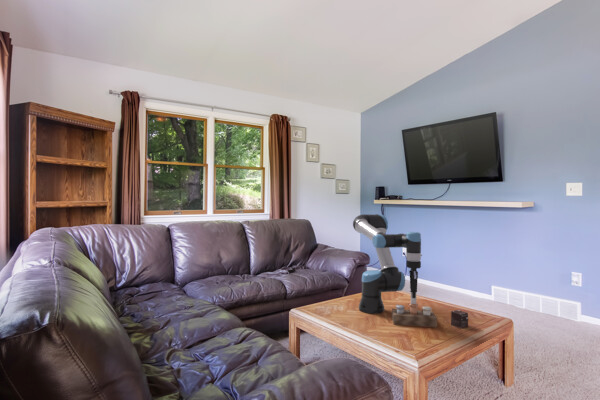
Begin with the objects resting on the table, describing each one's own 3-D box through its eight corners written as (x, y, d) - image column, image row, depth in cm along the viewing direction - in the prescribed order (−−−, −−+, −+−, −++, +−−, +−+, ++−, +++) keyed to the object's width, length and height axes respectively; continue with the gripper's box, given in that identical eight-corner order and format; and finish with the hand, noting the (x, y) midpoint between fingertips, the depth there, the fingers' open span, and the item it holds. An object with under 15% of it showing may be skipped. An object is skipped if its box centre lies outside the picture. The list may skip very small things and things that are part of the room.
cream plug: (423, 322, 178) (423, 308, 178) (421, 319, 183) (421, 306, 183) (432, 323, 177) (432, 309, 177) (430, 320, 182) (430, 306, 182)
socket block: (393, 324, 178) (393, 315, 178) (391, 317, 189) (391, 308, 189) (436, 327, 174) (436, 317, 174) (432, 320, 185) (432, 311, 185)
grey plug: (396, 320, 181) (396, 307, 181) (395, 318, 185) (395, 304, 185) (405, 321, 180) (405, 307, 180) (403, 318, 184) (404, 305, 185)
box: (460, 328, 172) (460, 314, 173) (450, 324, 178) (450, 311, 178) (468, 326, 175) (468, 312, 175) (458, 323, 181) (458, 309, 181)
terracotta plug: (409, 318, 180) (409, 304, 180) (408, 315, 184) (408, 302, 184) (418, 319, 179) (418, 305, 179) (417, 316, 183) (417, 302, 183)
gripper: (422, 262, 175) (422, 307, 174) (418, 258, 187) (418, 300, 187) (408, 262, 176) (407, 306, 176) (404, 258, 189) (404, 299, 188)
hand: (413, 303), depth 181 cm, fingers closed
